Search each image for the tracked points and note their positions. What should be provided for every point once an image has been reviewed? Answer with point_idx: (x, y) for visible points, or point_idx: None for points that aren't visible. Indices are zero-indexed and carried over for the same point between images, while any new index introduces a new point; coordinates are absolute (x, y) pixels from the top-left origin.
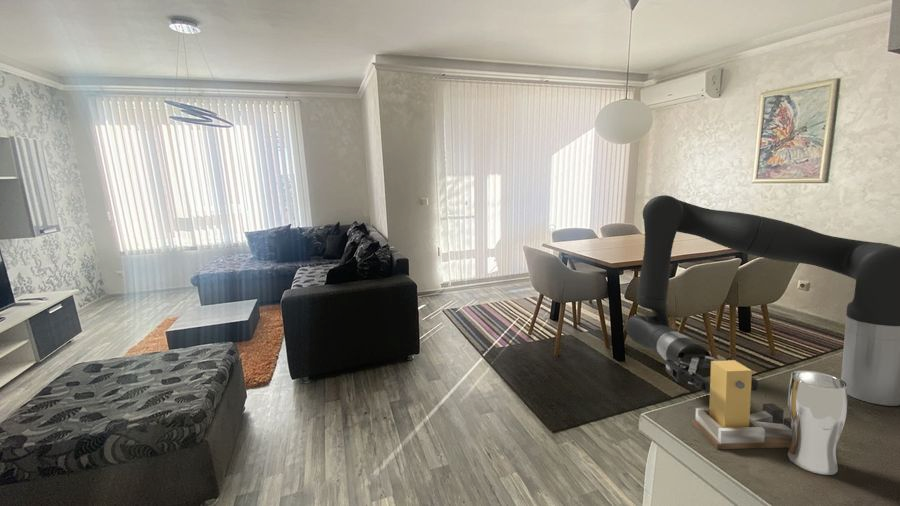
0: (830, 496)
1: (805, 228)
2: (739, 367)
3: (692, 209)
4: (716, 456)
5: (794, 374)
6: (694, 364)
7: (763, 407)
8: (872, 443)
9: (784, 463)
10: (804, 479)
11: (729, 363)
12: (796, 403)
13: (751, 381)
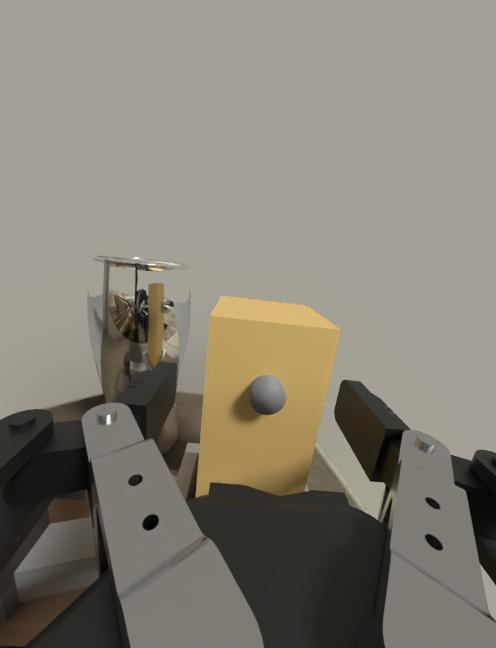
0: (199, 395)
1: None
2: (245, 303)
3: None
4: (309, 471)
5: (151, 269)
6: (423, 483)
7: (4, 575)
8: None
9: (193, 441)
10: (200, 415)
11: (262, 312)
12: (189, 318)
13: (173, 371)
